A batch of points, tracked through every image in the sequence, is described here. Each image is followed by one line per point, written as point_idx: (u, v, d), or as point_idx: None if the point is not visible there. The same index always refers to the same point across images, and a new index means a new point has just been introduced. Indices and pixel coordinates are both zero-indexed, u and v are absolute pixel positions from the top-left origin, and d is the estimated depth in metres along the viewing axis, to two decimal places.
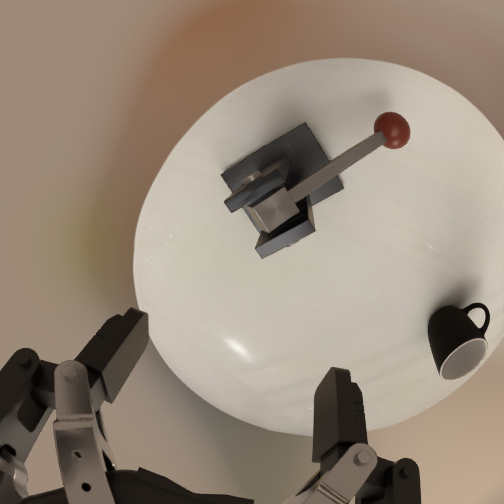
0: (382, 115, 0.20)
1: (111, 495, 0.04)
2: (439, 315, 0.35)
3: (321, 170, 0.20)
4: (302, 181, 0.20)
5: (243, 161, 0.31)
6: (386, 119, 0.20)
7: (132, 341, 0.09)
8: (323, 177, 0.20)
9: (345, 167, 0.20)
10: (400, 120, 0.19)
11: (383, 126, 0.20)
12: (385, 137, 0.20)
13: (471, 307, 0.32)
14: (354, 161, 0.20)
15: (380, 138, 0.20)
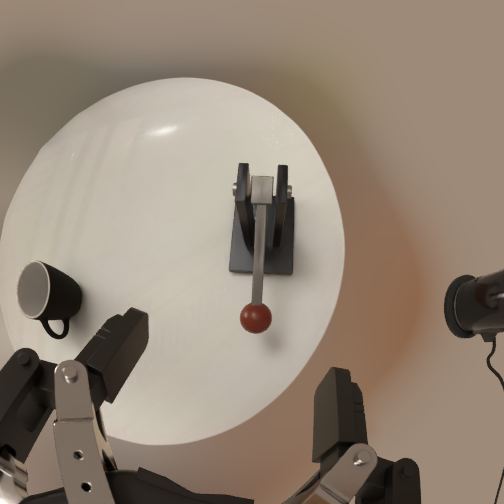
0: (271, 315, 0.30)
1: (111, 495, 0.04)
2: (78, 294, 0.38)
3: (264, 237, 0.28)
4: (265, 219, 0.28)
5: (292, 216, 0.41)
6: (267, 314, 0.29)
7: (132, 341, 0.09)
8: (259, 235, 0.28)
9: (255, 256, 0.29)
10: (261, 324, 0.29)
11: (263, 309, 0.29)
12: (255, 305, 0.30)
13: (66, 327, 0.36)
14: (254, 266, 0.29)
15: (257, 300, 0.30)
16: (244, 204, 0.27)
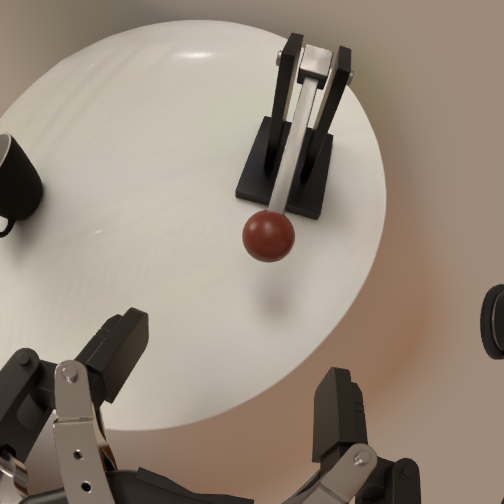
0: (294, 236, 0.18)
1: (111, 495, 0.04)
2: (37, 191, 0.26)
3: (308, 115, 0.17)
4: (314, 96, 0.17)
5: (329, 152, 0.30)
6: (291, 230, 0.18)
7: (132, 341, 0.09)
8: (301, 111, 0.17)
9: (290, 136, 0.18)
10: (278, 241, 0.17)
11: (286, 219, 0.18)
12: (273, 211, 0.18)
13: (8, 227, 0.23)
14: (286, 150, 0.18)
15: (278, 204, 0.18)
16: (292, 63, 0.16)
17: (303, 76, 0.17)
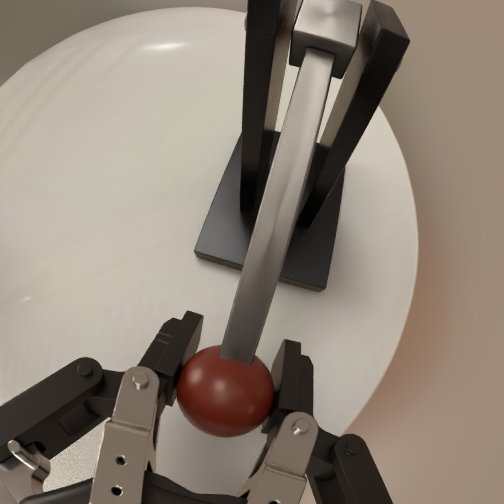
0: (273, 398, 0.09)
1: (111, 495, 0.04)
2: None
3: (314, 135, 0.08)
4: (327, 90, 0.07)
5: (341, 181, 0.20)
6: (265, 397, 0.08)
7: (192, 343, 0.10)
8: (298, 125, 0.08)
9: (269, 190, 0.08)
10: (237, 426, 0.07)
11: (256, 377, 0.08)
12: (231, 360, 0.08)
13: None
14: (259, 225, 0.08)
15: (240, 347, 0.08)
16: (274, 17, 0.06)
17: (302, 49, 0.08)
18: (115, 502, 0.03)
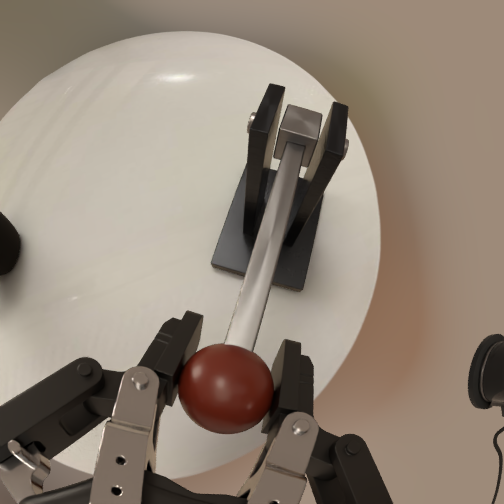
0: (273, 389, 0.09)
1: (111, 495, 0.04)
2: (14, 248, 0.24)
3: (292, 190, 0.13)
4: (300, 166, 0.14)
5: (318, 209, 0.28)
6: (268, 378, 0.09)
7: (192, 343, 0.10)
8: (282, 184, 0.13)
9: (265, 220, 0.12)
10: (245, 400, 0.08)
11: (259, 359, 0.09)
12: (236, 344, 0.10)
13: None
14: (259, 241, 0.11)
15: (244, 332, 0.10)
16: (264, 142, 0.14)
17: (283, 143, 0.15)
18: (115, 502, 0.03)
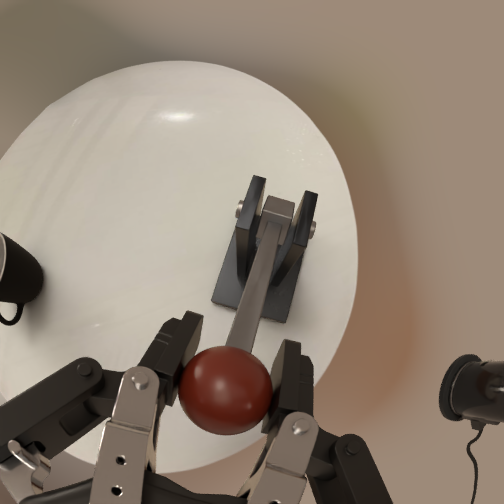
0: None
1: (111, 495, 0.04)
2: (38, 280, 0.30)
3: (274, 251, 0.17)
4: (278, 237, 0.18)
5: (302, 253, 0.33)
6: (267, 372, 0.10)
7: (192, 343, 0.10)
8: (266, 246, 0.17)
9: (254, 267, 0.15)
10: (250, 379, 0.08)
11: (257, 359, 0.10)
12: (235, 348, 0.10)
13: (18, 313, 0.27)
14: (250, 279, 0.14)
15: (241, 340, 0.11)
16: (247, 234, 0.19)
17: (265, 223, 0.20)
18: (115, 502, 0.03)
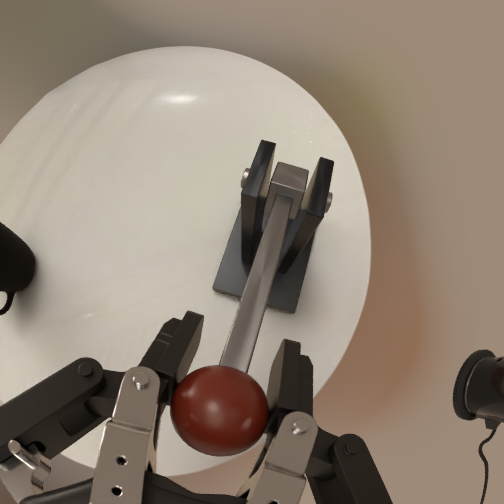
0: (268, 410, 0.09)
1: (111, 495, 0.04)
2: (29, 267, 0.28)
3: (282, 234, 0.14)
4: (288, 215, 0.16)
5: (312, 237, 0.31)
6: (263, 396, 0.09)
7: (192, 344, 0.10)
8: (273, 229, 0.14)
9: (257, 258, 0.13)
10: (241, 413, 0.07)
11: (254, 380, 0.09)
12: (230, 365, 0.09)
13: (8, 302, 0.25)
14: (252, 275, 0.12)
15: (238, 355, 0.10)
16: (254, 203, 0.16)
17: (273, 196, 0.17)
18: (115, 502, 0.03)
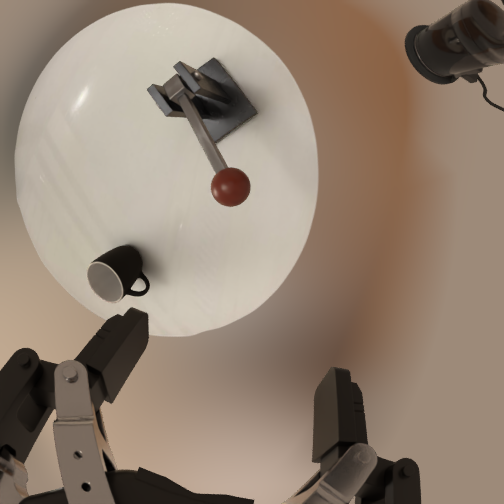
0: (241, 171, 0.24)
1: (111, 495, 0.04)
2: (132, 251, 0.51)
3: (194, 113, 0.25)
4: (189, 102, 0.25)
5: (224, 72, 0.35)
6: (233, 169, 0.23)
7: (132, 341, 0.09)
8: (189, 115, 0.25)
9: (195, 131, 0.25)
10: (228, 180, 0.23)
11: (227, 168, 0.24)
12: (218, 171, 0.24)
13: (144, 279, 0.52)
14: (199, 139, 0.25)
15: (218, 166, 0.24)
16: (174, 111, 0.26)
17: (177, 100, 0.26)
18: (90, 499, 0.03)
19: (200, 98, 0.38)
